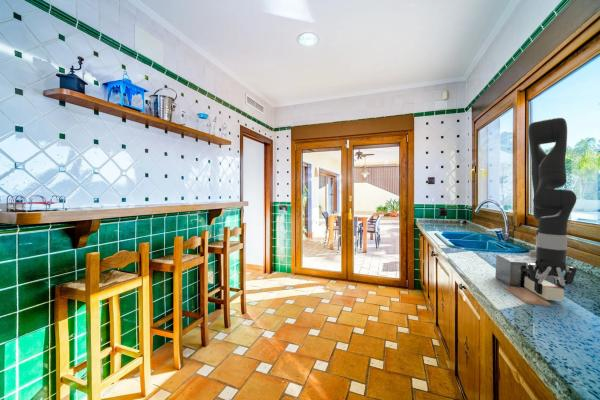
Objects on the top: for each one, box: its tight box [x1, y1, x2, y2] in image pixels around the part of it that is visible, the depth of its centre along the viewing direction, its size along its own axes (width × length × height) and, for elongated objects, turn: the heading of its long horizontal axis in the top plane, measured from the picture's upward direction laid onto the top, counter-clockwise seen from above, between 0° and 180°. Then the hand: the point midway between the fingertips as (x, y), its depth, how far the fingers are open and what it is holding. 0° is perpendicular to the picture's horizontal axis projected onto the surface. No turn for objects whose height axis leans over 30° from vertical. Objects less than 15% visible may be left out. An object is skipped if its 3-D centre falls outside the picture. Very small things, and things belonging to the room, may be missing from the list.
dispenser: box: [495, 253, 555, 288], centre depth 106 cm, size 13×14×10 cm
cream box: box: [523, 277, 565, 302], centre depth 93 cm, size 12×5×4 cm, turn 167°
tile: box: [504, 285, 552, 307], centre depth 94 cm, size 14×7×1 cm, turn 165°
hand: (548, 294), depth 90 cm, fingers closed on cream box, 5 cm apart
